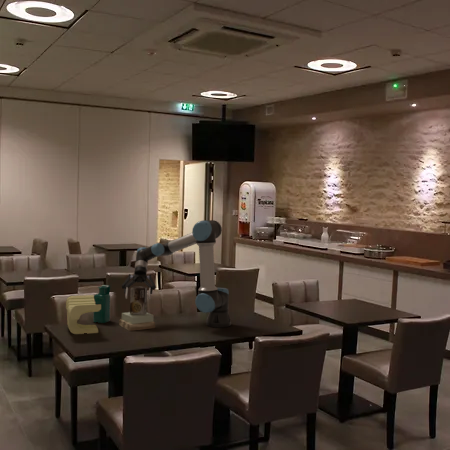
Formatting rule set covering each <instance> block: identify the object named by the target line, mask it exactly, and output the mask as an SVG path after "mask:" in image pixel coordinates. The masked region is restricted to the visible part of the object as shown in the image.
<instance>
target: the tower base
mask: <svg viewBox="0 0 450 450" xmlns="http://www.w3.org/2000/svg"><path fill="white" fill-rule="evenodd" d="M118 324H119V325H118V326H120V327H122V328H124V329H125V330H128V331H129V332H130V331H131V332H132V331H139V330H140V331H141V330H147V329H155V328H156V321H154V320H153V322H146V323H138V324H131V323H128V322H126V321H124V320H122V318H120V319H119V323H118Z"/></svg>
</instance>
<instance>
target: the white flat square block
mask: <svg viewBox="0 0 450 450" xmlns="http://www.w3.org/2000/svg"><path fill="white" fill-rule="evenodd" d="M121 319H122V320H124V321H126V322H128V323H131V324H138V323H146V322H153V321H154V314H152V313H150V312H147V313H146V314H145V315H135V314H130V311H128V312H121Z"/></svg>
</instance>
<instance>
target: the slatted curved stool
mask: <svg viewBox="0 0 450 450" xmlns="http://www.w3.org/2000/svg"><path fill="white" fill-rule="evenodd" d="M94 295H95V294H90V295H87V294H86V295H83V294H82V295H71V296H69V297H67V298H66V301H65V309H66V316H67V317H66V318H67V320H66V323H67V325H66V326H67V328H68V329H69V331H70V333H71V334H74V335H84V333H87V334H98V333H99V328H98V327H97V325H96V324H80V323H78V320H80V318H81V316H82V315H84V314H87V313H93V312H98V311H99V310H101V304H99V305H96V304H95V300H94Z"/></svg>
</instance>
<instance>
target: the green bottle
mask: <svg viewBox="0 0 450 450" xmlns="http://www.w3.org/2000/svg"><path fill="white" fill-rule="evenodd" d="M97 289H98V293H96V294H93V295H94V300H95V304H96V305H99V304H101V310H99V311H98V312H92V314H93V315H92V321H93V323H96V322H98V323H99V324H105V323H108V322H110V320H111V295H110V291H111V285H107V284H102V285H100V286H97ZM98 323H97V324H98Z"/></svg>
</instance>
